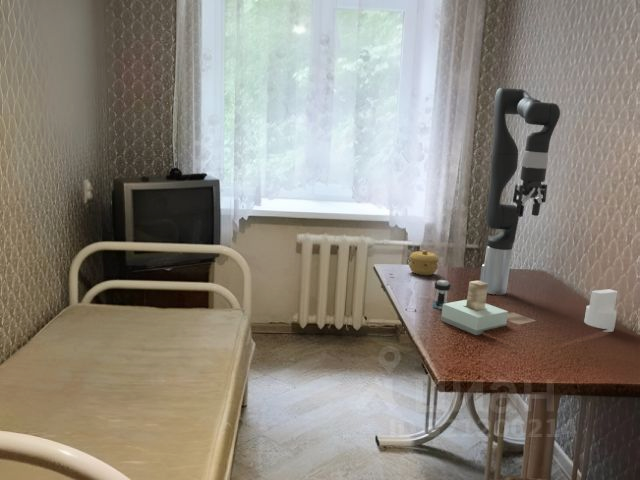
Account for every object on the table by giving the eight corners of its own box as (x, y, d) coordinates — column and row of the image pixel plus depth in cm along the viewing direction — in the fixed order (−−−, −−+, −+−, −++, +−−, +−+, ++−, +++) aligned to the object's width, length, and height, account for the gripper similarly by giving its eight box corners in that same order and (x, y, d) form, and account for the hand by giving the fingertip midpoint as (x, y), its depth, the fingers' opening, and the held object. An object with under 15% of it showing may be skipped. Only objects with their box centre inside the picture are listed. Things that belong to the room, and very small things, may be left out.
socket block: (440, 320, 189) (442, 303, 188) (470, 314, 197) (472, 298, 196) (476, 335, 178) (478, 317, 177) (505, 328, 186) (508, 311, 185)
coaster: (495, 318, 195) (495, 315, 194) (512, 315, 200) (512, 312, 200) (518, 327, 188) (519, 324, 187) (535, 323, 193) (536, 320, 193)
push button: (452, 309, 201) (455, 281, 199) (451, 314, 196) (455, 285, 194) (432, 306, 202) (435, 278, 200) (430, 311, 197) (434, 282, 195)
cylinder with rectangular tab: (601, 333, 188) (607, 296, 186) (577, 323, 196) (583, 288, 194) (620, 330, 193) (626, 294, 190) (596, 321, 200) (602, 286, 198)
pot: (430, 279, 238) (433, 255, 236) (403, 274, 244) (405, 250, 242) (440, 274, 248) (443, 250, 246) (414, 268, 254) (416, 245, 252)
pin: (464, 318, 188) (469, 281, 185) (472, 317, 190) (477, 280, 187) (474, 322, 184) (479, 285, 182) (483, 320, 187) (488, 283, 184)
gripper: (537, 165, 200) (530, 213, 203) (510, 164, 191) (503, 214, 195) (557, 167, 194) (550, 217, 197) (531, 167, 186) (523, 218, 189)
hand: (527, 216), depth 196 cm, fingers open, 8 cm apart
